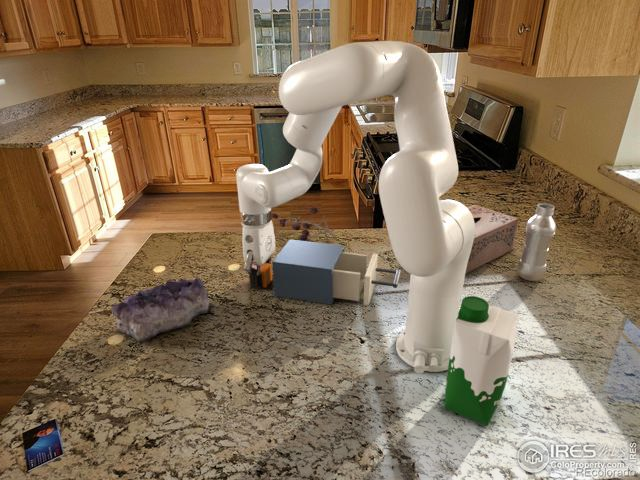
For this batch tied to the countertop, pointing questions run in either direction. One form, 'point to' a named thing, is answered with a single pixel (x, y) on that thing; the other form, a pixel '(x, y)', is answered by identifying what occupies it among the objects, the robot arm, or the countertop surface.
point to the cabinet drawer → (358, 277)
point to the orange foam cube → (265, 273)
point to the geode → (161, 308)
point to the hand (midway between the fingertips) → (261, 280)
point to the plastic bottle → (537, 243)
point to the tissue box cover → (490, 235)
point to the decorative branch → (305, 225)
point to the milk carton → (479, 359)
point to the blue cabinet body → (306, 271)
